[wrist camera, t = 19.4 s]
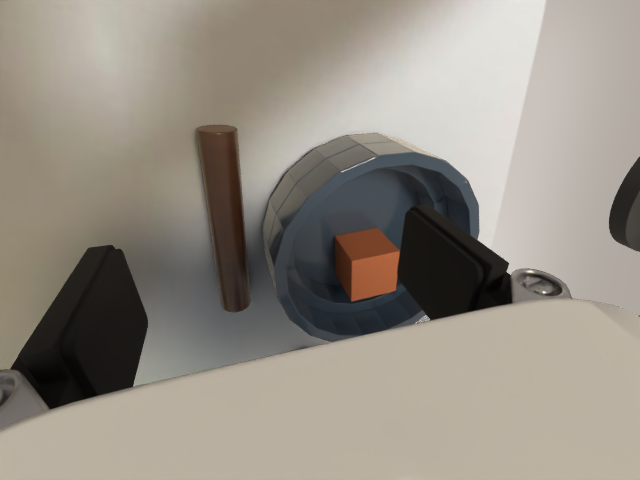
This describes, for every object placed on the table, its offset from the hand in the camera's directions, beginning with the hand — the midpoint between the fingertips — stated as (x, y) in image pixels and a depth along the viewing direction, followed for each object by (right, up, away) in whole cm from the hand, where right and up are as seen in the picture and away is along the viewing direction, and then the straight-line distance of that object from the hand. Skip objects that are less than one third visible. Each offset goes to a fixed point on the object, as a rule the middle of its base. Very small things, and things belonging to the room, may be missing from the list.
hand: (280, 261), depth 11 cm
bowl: (+4, +2, +17) cm, 18 cm away
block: (+5, 0, +18) cm, 18 cm away
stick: (-5, +8, +9) cm, 13 cm away
